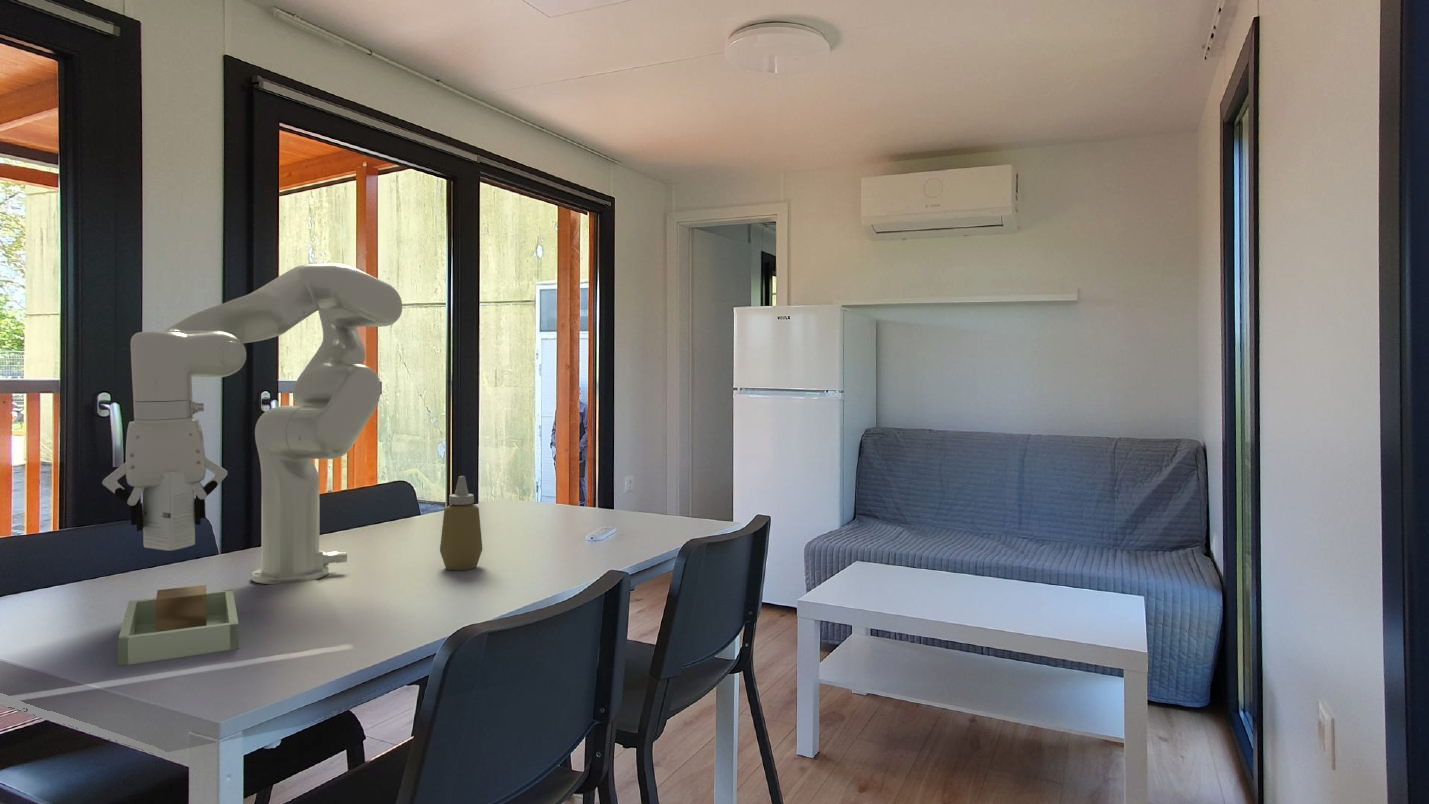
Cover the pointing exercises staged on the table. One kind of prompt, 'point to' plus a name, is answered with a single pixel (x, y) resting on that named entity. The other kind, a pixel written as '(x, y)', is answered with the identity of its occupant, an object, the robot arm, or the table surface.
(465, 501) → the squeeze bottle
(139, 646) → the tote
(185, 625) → the walnut block
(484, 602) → the table surface
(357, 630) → the table surface
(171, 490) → the skincare box
